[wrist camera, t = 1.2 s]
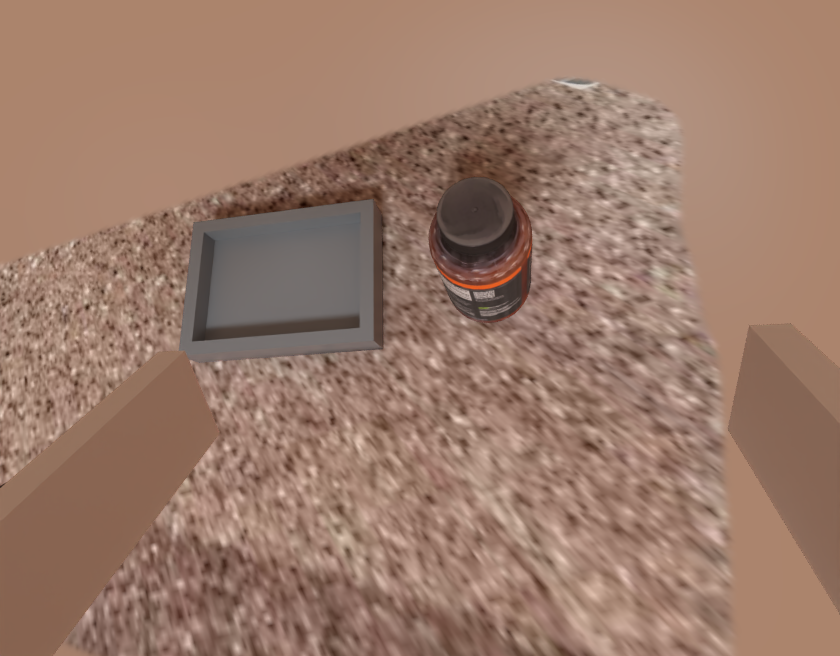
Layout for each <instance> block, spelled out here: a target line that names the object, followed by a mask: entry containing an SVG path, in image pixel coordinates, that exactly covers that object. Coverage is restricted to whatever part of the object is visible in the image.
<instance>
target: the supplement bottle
mask: <svg viewBox="0 0 840 656" xmlns="http://www.w3.org/2000/svg"><path fill="white" fill-rule="evenodd" d="M429 247H430V252H431V255H432V258H433V260H434V262H435V265H436V267H437V270H438V272H439V274H440V276H441V279H442V281H443V283H444V286H445V288H446V290H447V292H448V295H449V297H450V299H451V301H452V303H453V304H454V306H455V307H456V308H457V310H458V311H459V312H460V313H461V314H463V315H464V316H466V317H467V318H469V319H471V320H474V321H477V322H484V323H492V322H498V321H502V320H504V319H506V318H509V317H510V316H512V315H513V314H515V313H516V312H517V311H518V310H519V309H520V308H521V306H522V305H523V304H524V302H525V300H526V298H527V297H528V294H529V289H530V283H531V257H532V229H531V224H530V220H529V217H528V215H527V213H526V211H525V210H524V208H523V207H522V206H521V204H520V203H519V202H518V201H517V200H515V199H514V198H513V197H512V196H510V194H509V193H508V191H507V190H506V189H505V188H504V187H503V186H502V185H501V184H500V183H498V182H496V181H494V180H492V179H489V178H485V177H472V178H467V179H463V180H461V181H459V182H457V183H455V184H454V185H452V186H451V187H450V188H449V189H447V190H446V192H445V193H444V194H443V196H442V198H441V199H440V201H439V204H438V207H437V212H436V214H435V216H434V218H433V220H432V223H431V226H430V230H429Z"/></svg>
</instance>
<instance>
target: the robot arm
mask: <svg viewBox="0 0 840 656" xmlns="http://www.w3.org/2000/svg"><path fill="white" fill-rule="evenodd" d="M728 431H729V432H730V434H731V436H732V437H733V439H734V440H735V442H736V444H737V445H738V447H739V449H740V450H741V452H742V454H743V455H744V457H745V459H746V460H747V462H748V464H749V465H750V467H751V469H752V470H753V471H754V474H755V475H756V477H757V478H758V480H759V482H760V483H761V485H762V487H763V488H764V490H765V492H766V493H767V495H768V497H769V498H770V500H771V502H772V503H773V505H774V506H775V508H776V510H777V511H778V513H779V515H780V516H781V518H782V520H783V521H784V523H785V525H786V526H787V528H788V530H789V531H790V533H791V534H792V536H793V538H794V539H795V541H796V543H797V544H798V546H799V548H800V549H801V551H802V553H803V554H804V556H805V558H806V559H807V561H808V563H809V564H810V566H811V567H812V569H813V571H814V572H815V574H816V576H817V577H818V579H819V581H820V582H821V584H822V585H823V587H824V588H825V590H826V592H827V594H828V595H829V597H830V599H831V600H832V602H833V604H834V605H835V607H836V609H837V610H838V612H839V613H840V368H839V367H838V366H837V365H835V363H833V362H832V361H831V360H830V359H829V358H828V357H827V356H826V355H825V354H824V353H823V352H821V351H820V350H819V349H818V348H817V347H816V346H815V345H814V344H813V343H812V342H811V341H810V340H808V339H807V338H806V337H805V336H804V335H803V334H802V333H801V332H800V331H799V330H798V329H797V328H795V327H794V326H793V325H792V324H770V325H749V329H748V334H747V338H746V343H745V348H744V353H743V358H742V362H741V368H740V372H739V377H738V382H737V387H736V391H735V396H734V401H733V406H732V411H731V416H730V420H729V425H728ZM219 434H220V432H219V430H218V428H217V425H216V423H215V420H214V418H213V416H212V413H211V411H210V409H209V406H208V404H207V402H206V399H205V397H204V395H203V392H202V390H201V387H200V385H199V383H198V380H197V378H196V376H195V373H194V371H193V369H192V366H191V364H190V362H189V359H188V357H187V354H186V352H185V351H166V352H158V353H157V354H156V355H155V356H153V357H152V358H151V359H150V360H149V361H148V362H146V363H145V364H144V365H143V366H142V367H141V368H140V369H138V370H137V371H136V372H135V373H134V374H133V375H131V376H130V377H129V378H128V379H127V380H126V381H124V382H123V383H122V384H121V385H120V386H119V387H117V388H116V389H115V390H114V391H113V392H112V393H110V394H109V395H108V396H107V397H106V398H105V399H103V400H102V401H101V402H100V403H99V404H98V405H96V406H95V407H94V408H93V409H92V410H91V411H89V412H88V413H87V414H86V415H85V416H84V417H82V418H81V419H80V420H79V421H78V422H77V423H76V424H74V425H73V426H72V427H71V428H70V429H69V430H67V431H66V432H65V433H64V434H63V435H62V436H60V437H59V438H58V439H57V440H56V441H55V442H53V443H52V444H51V445H50V446H49V447H48V448H46V449H45V450H44V451H43V452H42V453H41V454H39V455H38V456H37V457H36V458H35V459H34V460H32V461H31V462H30V463H29V464H28V465H27V466H25V467H24V468H23V469H22V470H21V471H20V472H18V473H17V474H16V475H15V476H14V477H13V478H11V479H10V480H9V481H8V482H6V483H5V484H3V485H2V486H0V656H53V655H54V654H55V652H56V651H57V650H58V648H59V647H60V646H61V644H62V643H63V642H64V640H65V639H66V638H67V636H68V635H69V634H70V632H71V631H72V630H73V628H74V627H75V626H76V624H77V623H78V622H79V620H80V619H81V618H82V616H83V615H84V614H85V612H86V611H87V610H88V608H89V607H90V606H91V604H92V603H93V602H94V600H95V599H96V598H97V596H98V595H99V594H100V592H101V591H102V590H103V588H104V587H105V586H106V584H107V583H108V582H109V580H110V579H111V578H112V576H113V575H114V574H115V572H116V571H117V570H118V568H119V567H120V566H121V564H122V563H123V562H124V560H125V559H126V558H127V556H128V555H129V554H130V552H131V551H132V550H133V548H134V547H135V546H136V544H137V543H138V542H139V540H140V539H141V538H142V536H143V535H144V534H145V532H146V531H147V530H148V528H149V527H150V526H151V524H152V523H153V522H154V520H155V519H156V518H157V516H158V515H159V514H160V512H161V511H162V510H163V508H164V507H165V506H166V504H167V503H168V502H169V500H170V499H171V498H172V496H173V495H174V494H175V492H176V491H177V490H178V488H179V487H180V486H181V484H182V483H183V482H184V480H185V479H186V478H187V476H188V475H189V474H190V472H191V471H192V470H193V468H194V467H195V466H196V464H197V463H198V462H199V460H200V459H201V458H202V456H203V455H204V454H205V452H206V451H207V450H208V448H209V447H210V446H211V444H212V443H213V442H214V440H215V439H216V438H217V436H218V435H219Z"/></svg>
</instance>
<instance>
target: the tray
mask: <svg viewBox="0 0 840 656" xmlns="http://www.w3.org/2000/svg"><path fill="white" fill-rule="evenodd" d="M375 349H383V265H382V214H381V212H380V210H379V208H378V207H377V205H376V203H375V201H374V199H369V200H362V201H354V202H346V203H339V204H331V205H323V206H316V207H308V208H300V209H293V210H285V211H277V212H270V213H262V214H254V215H247V216H239V217H232V218H224V219H216V220H209V221H201V222H194V224H193V233H192V241H191V250H190V259H189V267H188V276H187V285H186V294H185V302H184V311H183V320H182V329H181V337H180V346H179V351H185V352H186V354H187V357H188V359H190V360H193V361H196V362H199V363H200V362H214V361H227V360H241V359H254V358H268V357H281V356H295V355H308V354H322V353H335V352H348V351H362V350H375Z"/></svg>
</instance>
